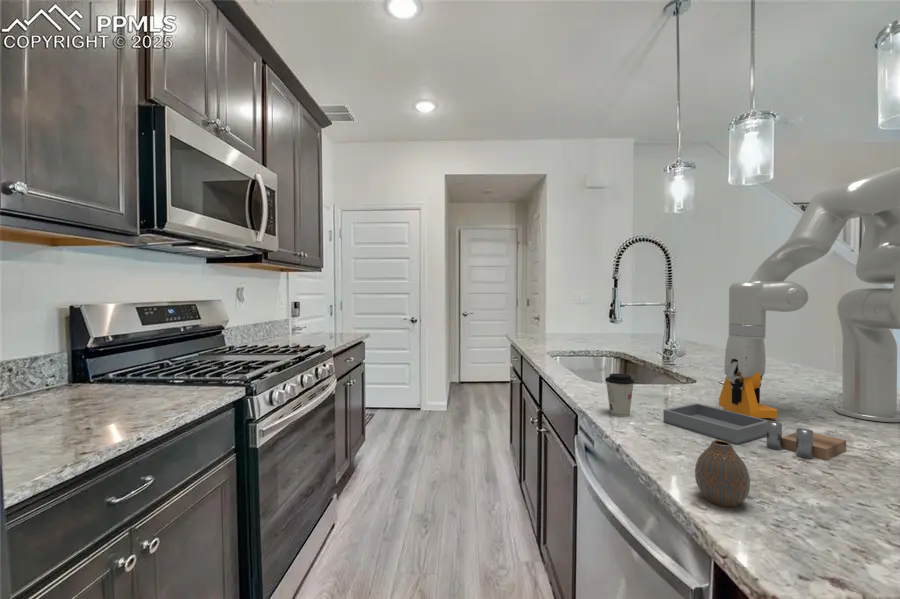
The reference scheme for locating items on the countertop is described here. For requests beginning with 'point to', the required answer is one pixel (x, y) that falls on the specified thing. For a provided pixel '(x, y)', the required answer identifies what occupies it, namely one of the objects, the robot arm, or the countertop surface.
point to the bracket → (746, 399)
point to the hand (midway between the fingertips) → (745, 402)
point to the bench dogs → (802, 439)
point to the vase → (722, 475)
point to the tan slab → (818, 445)
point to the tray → (717, 423)
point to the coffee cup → (619, 394)
